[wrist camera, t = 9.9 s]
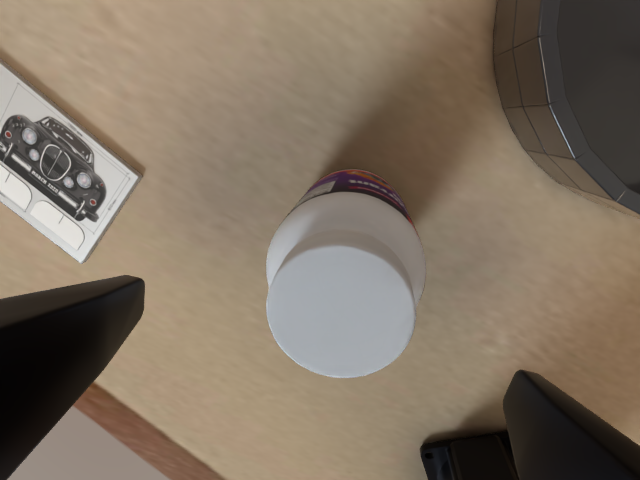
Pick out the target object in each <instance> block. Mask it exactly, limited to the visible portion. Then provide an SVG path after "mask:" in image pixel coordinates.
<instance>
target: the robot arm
mask: <svg viewBox="0 0 640 480" xmlns="http://www.w3.org/2000/svg"><path fill="white" fill-rule="evenodd" d="M144 294H145V283H144V281H143V279H141V278H138V277H134V276H129V275H123V276H118V277H113V278H108V279H102V280H97V281H92V282H87V283H81V284H76V285H71V286H66V287H61V288H55V289H50V290H45V291H40V292H34V293H29V294H24V295H19V296H14V297H8V298H3V299H0V480H7V479H8V478H9V477H10V476H11V474H12V473H13V472H14V471H15V470H16V469H17V468H18V467H19V465H20V464H21V463H22V462H23V461H24V460H25V459H26V457H27V456H28V455H29V454H30V453H31V452H32V451H33V449H34V448H35V447H36V446H37V445H38V444H39V443H40V442H41V440H42V439H43V438H44V437H45V436H46V435H47V433H49V431H50V430H51V429H52V428H53V427H54V426H55V424H56V423H57V422H58V421H59V420H60V419H61V418H62V417H63V416H64V414H65V413H66V412H67V411H68V410H69V408H70V407H71V406H72V405H73V404H74V403H75V402H76V401H77V400H78V399H79V397H80V396H81V395H82V394H83V393H84V392H85V391H86V389H87V388H88V387H89V386H90V385H91V384H92V383H93V381H94V380H95V379H96V378H97V377H98V376H99V375H100V373H101V372H102V371H103V370H104V369H105V367H106V366H107V365H108V363H109V362H110V361H111V359H112V358H113V356H114V355H115V354H116V352H117V351H118V349H119V348H120V347H121V345H122V344H123V342H124V341H125V340H126V338H127V337H128V335H129V334H130V333H131V331H132V330H133V328H134V327H135V326H136V324H137V323H138V321H139V320H140V318H141V316H142V314H143V310H144ZM503 410H504V414H505V419H506V423H507V428H508V431H504V432H498V433H492V434H485V435H479V436H472V437H466V438H460V439H453V440H447V441H440V442H434V443H428V444H424V445H422V446H421V447H420V454H421V459H422V462H423V465H424V468H425V471H426V474H427V477H428V480H640V446H639V445H638V444H636V443H635V442H633V441H632V440H631V439H629V438H628V437H626V436H625V435H624V434H622V433H621V432H619V431H618V430H617V429H615V428H614V427H612V426H611V425H610V424H608V423H607V422H605V421H604V420H603V419H601V418H600V417H598V416H597V415H595V414H594V413H593V412H591V411H590V410H588V409H587V408H586V407H584V406H583V405H581V404H580V403H579V402H577V401H576V400H574V399H573V398H572V397H570V396H569V395H567V394H566V393H565V392H563V391H562V390H560V389H559V388H558V387H556V386H555V385H553V384H552V383H551V382H549V381H548V380H546V379H545V378H543V377H542V376H541V375H539V374H537V373H534V372H529V371H525V370H519V371H517V372H516V373H515V375H514V377H513V379H512V381H511V383H510V385H509V387H508V389H507V392H506V394H505V396H504V399H503ZM428 452H431V453H428Z"/></svg>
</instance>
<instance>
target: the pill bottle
mask: <svg viewBox="0 0 640 480" xmlns="http://www.w3.org/2000/svg"><path fill="white" fill-rule="evenodd" d="M266 273H267V281H268V285H269V291H268V296H267V306H266V312H267V319H268V323H269V327H270V330H271V332H272V334H273V336H274V338H275V340H276V342H277V343H278V345H279V346H280V348H281V349H282V350H283V351H284V352H285V353H286V354H287V355H288V356H289V357H290V358H291V359H292V360H293V361H295V362H296V363H298V364H299V365H301V366H302V367H304V368H306V369H308V370H310V371H312V372H315V373H318V374H321V375H325V376H329V377H336V378H353V377H360V376H364V375H368V374H371V373H374V372H376V371H378V370H380V369H382V368H384V367H386V366H387V365H389V364H390V363H392V362H393V361H394V360H395V359H396V358H397V357H398V356H399V355H400V354H401V353H402V352H403V351H404V349H405V348H406V346H407V345H408V343H409V341H410V339H411V336H412V334H413V331H414V327H415V322H416V306H417V304H418V302H419V300H420V298H421V296H422V293H423V289H424V285H425V278H426V261H425V255H424V251H423V247H422V244H421V241H420V238H419V236H418V234H417V232H416V229H415V227H414V225H413V223H412V221H411V218H410V216H409V214H408V212H407V209H406V207H405V205H404V203H403V201H402V199H401V197H400V196H399V194H398V193H397V192H396V190H395V189H394V188H393V187H392V186H391V185H390V184H389V183H388V182H387V181H385V180H384V179H382V178H381V177H379V176H378V175H376V174H373V173H371V172H368V171H364V170H357V169H347V170H341V171H337V172H334V173H331V174H329V175H327V176H325V177H323V178H322V179H320V180H319V181H318V182H316V183H315V184H314V185H313V186H312V187H311V188H310V189H309V190H308V192H307V193H306V194H305V195H304V196H303V197H302V198H301V200H300V201H299V202H298V203H297V204H296V206H295V207H294V208H293V209H292V210H291V212H290V213H289V214H288V215H287V216H286V218H285V219H284V220H283V221H282V223H281V224H280V226H279V227H278V229H277V231H276V232H275V234H274V236H273V238H272V241H271V243H270V246H269V250H268V254H267V261H266Z"/></svg>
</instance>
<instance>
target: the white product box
mask: <svg viewBox="0 0 640 480" xmlns="http://www.w3.org/2000/svg"><path fill="white" fill-rule="evenodd" d="M142 177H143V176H142V175H141V174H140V173H139V172H138V171H136V170H135V169H134V168H133V167H132V166H130V165H129V164H128V163H127V162H126V161H124V160H123V159H122V158H121V157H119V156H118V155H117V154H116V153H115V152H113V151H112V150H111V149H110V148H109V147H107V146H106V145H105V144H104V143H102V142H101V141H100V140H99V139H98V138H96V137H95V136H94V135H93V134H92V133H90V132H89V131H88V130H87V129H85V128H84V127H83V126H82V125H81V124H79V123H78V122H77V121H76V120H75V119H73V118H72V117H71V116H70V115H69V114H67V113H66V112H65V111H64V110H62V109H61V108H60V107H59V106H58V105H56V104H55V103H54V102H53V101H52V100H50V99H49V98H48V97H47V96H45V95H44V94H43V93H42V92H41V91H39V90H38V89H37V88H36V87H35V86H33V85H32V84H31V83H30V82H28V81H27V80H26V79H25V78H24V77H22V76H21V75H20V74H19V73H18V72H16V71H15V70H14V69H13V68H11V67H10V66H9V65H8V64H7V63H5V62H4V61H3V60H2V59H1V58H0V202H2V203H3V204H4V205H6V206H7V207H8V208H9V209H11V210H12V211H13V212H15V213H16V214H17V215H18V216H20V217H21V218H22V219H24V220H25V221H26V222H28V223H29V224H30V225H31V226H33V227H34V228H35V229H37V230H38V231H39V232H41V233H42V234H43V235H44V236H46V237H47V238H48V239H50V240H51V241H52V242H53V243H55V244H56V245H57V246H59V247H60V248H61V249H63V250H64V251H65V252H66V253H68V254H69V255H70V256H72V257H73V258H74V259H75V260H77V261H78V262H79V263H81V264H82V263H84V262H86V261H87V259H88V258H89V256H90V255H91V253H92V252H93V250H94V249H95V247H96V246H97V244H98V243H99V241H100V240H101V238H102V237H103V235H104V234H105V232H106V231H107V229H108V228H109V226H110V225H111V223H112V222H113V220H114V219H115V217H116V216H117V214H118V213H119V211H120V210H121V208H122V207H123V205H124V204H125V202H126V201H127V199H128V198H129V196H130V195H131V193H132V192H133V190H134V189H135V187H136V186H137V184H138V183H139V181H140V180H141V178H142Z"/></svg>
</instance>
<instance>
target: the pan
mask: <svg viewBox="0 0 640 480" xmlns="http://www.w3.org/2000/svg"><path fill="white" fill-rule="evenodd" d="M493 58H494V67H495V75H496V83H497V88H498V91H499V95H500V99H501V103H502V107H503V109H504V112H505V114H506V117H507V119H508V121H509V124H510V126H511V128H512V130H513V132H514V134H515V135H516V137H517V138H518V140H519V142H520V143H521V145H522V147H523V148H524V150H525V151H526V152H527V153H528V154H529V155H530V157H531V158H532V159H533V160H534V161H535V162H536V164H537V165H538V166H539V167H540V168H542V169H543V170H544V171H545V172H546V173H547V174H548V175H550V176H551V177H552V178H553V179H554V180H555V181H556V182H558V183H559V184H561V185H563V186H565V187H567V188H568V189H570V190H571V191H573V192H575V193H577V194H580V195H582V196H584V197H586V198H587V199H589V200H591V201H593V202H595V203H597V204H600V205H603V206H605V207H608V208H611V209H614V210H616V211H619V212H622V213H625V214H627V215H630V216H633V217H635V218H638V219H640V0H498V2H497V10H496V17H495V25H494V56H493Z"/></svg>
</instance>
